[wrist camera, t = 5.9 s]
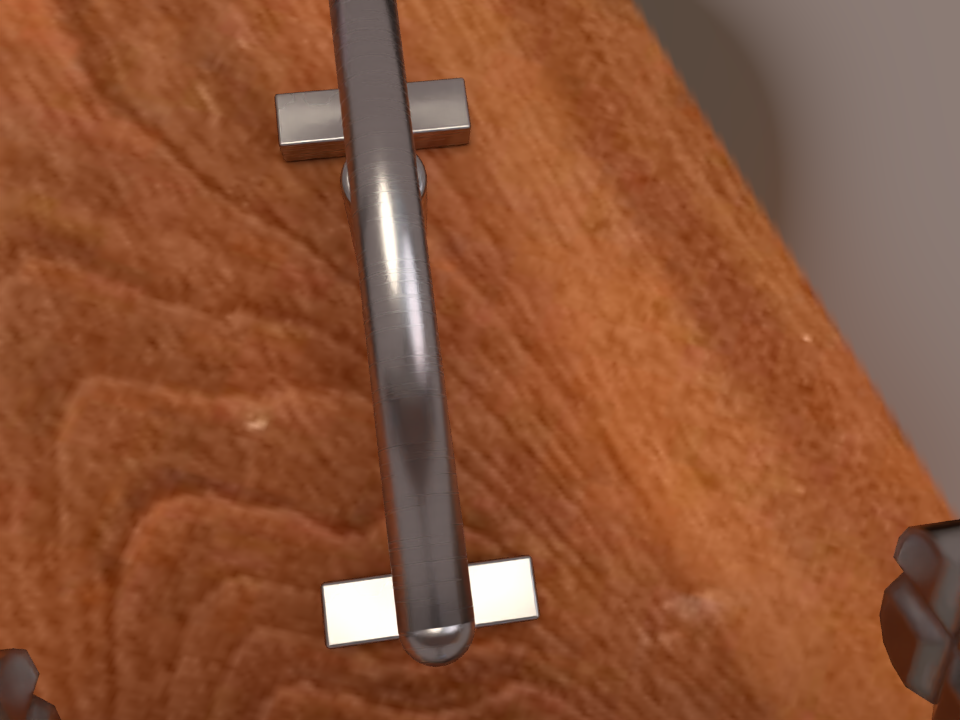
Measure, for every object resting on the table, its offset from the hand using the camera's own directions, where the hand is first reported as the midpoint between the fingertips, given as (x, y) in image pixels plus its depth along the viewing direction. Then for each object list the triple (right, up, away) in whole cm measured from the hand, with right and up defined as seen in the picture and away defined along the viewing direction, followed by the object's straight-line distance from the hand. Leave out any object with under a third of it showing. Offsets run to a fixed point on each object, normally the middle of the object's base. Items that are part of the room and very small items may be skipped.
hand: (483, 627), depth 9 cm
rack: (-2, +3, +10) cm, 11 cm away
